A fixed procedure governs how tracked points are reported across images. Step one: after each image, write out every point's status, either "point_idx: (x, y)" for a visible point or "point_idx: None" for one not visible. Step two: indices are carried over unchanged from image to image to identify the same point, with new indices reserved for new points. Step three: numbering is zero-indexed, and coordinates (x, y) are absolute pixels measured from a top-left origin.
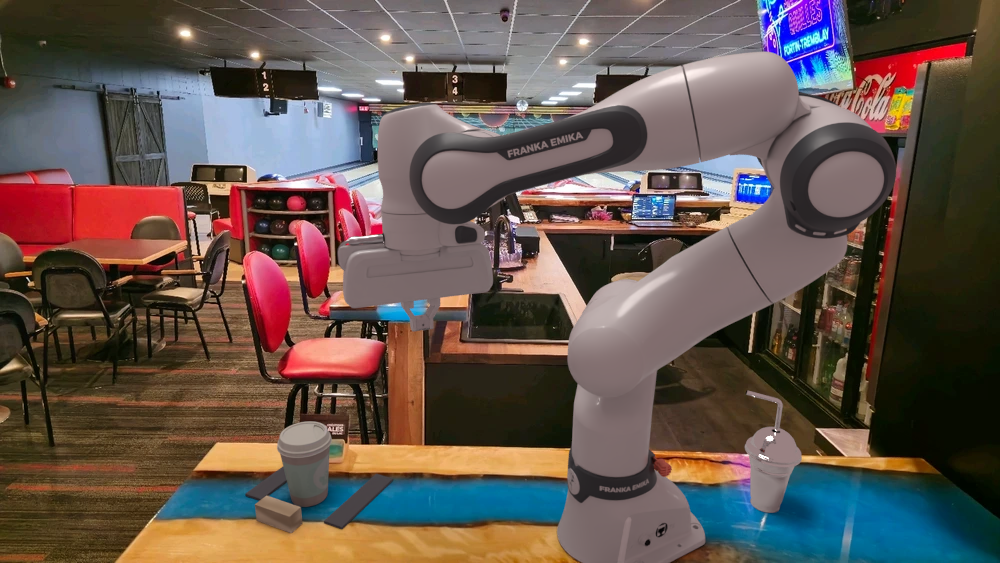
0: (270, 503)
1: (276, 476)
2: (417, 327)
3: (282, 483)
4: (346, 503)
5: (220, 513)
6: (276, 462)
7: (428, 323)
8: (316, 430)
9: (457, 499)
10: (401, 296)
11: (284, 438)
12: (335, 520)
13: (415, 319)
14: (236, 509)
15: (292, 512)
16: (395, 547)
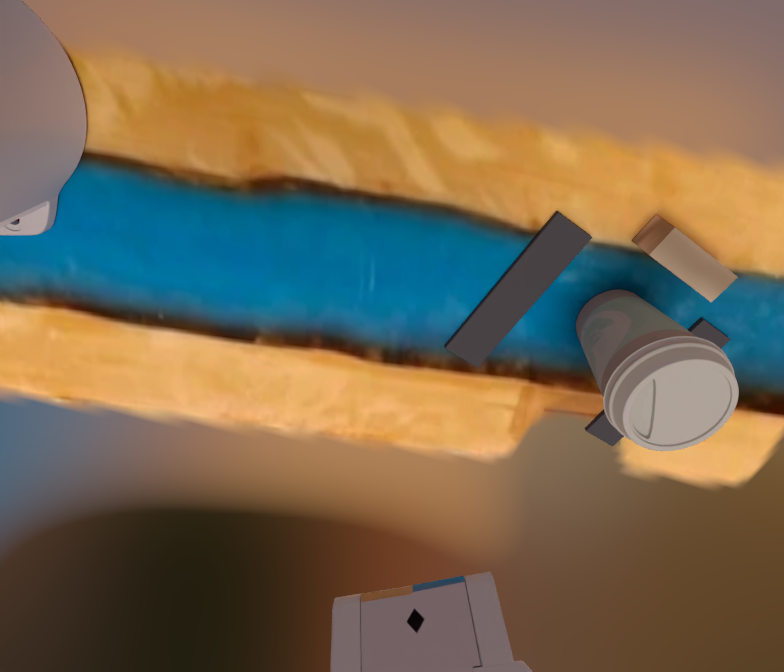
0: (707, 275)
1: None
2: (460, 598)
3: None
4: (543, 284)
5: (778, 292)
6: None
7: (371, 634)
8: (645, 419)
9: (313, 270)
10: None
11: (726, 392)
12: (569, 235)
13: (487, 668)
14: (748, 300)
15: (667, 239)
16: (452, 136)
